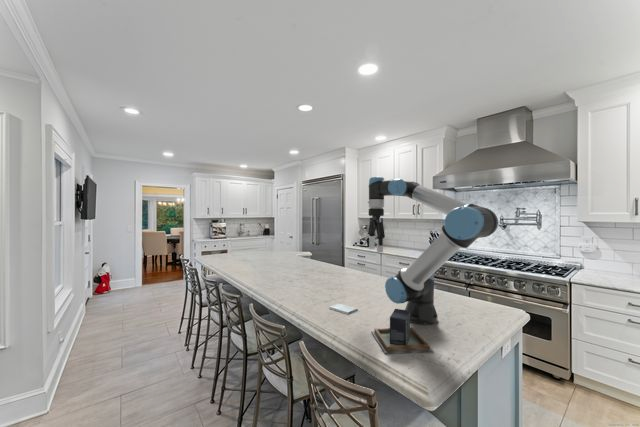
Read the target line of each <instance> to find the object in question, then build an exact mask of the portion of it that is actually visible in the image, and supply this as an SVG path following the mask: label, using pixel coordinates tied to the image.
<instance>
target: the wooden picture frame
mask: <svg viewBox="0 0 640 427" xmlns="http://www.w3.org/2000/svg"><path fill="white" fill-rule="evenodd" d="M370 333H371V334H372V336H373V337H374V338H375V340H376V343H378V346H379V347H380V348H381V350H382V351H383V353H384V354H385V355H399V354H407V355H408V354H428V353H429V354H430V353H431V354H432V353H433V354H434V352H435V351H434V350H433V349H432V348H431V347H430V344H429V343H428V342H427V341H426V340H425V339H424V338H423V337H422V336H420V334H418V332H416V330H415V329H413V328H412V327H410V338H409V341H408V344H407V345H394V344H390V327H387V328H385V327H384V328H383V327H381V328H380V327H379V328H374V330H371V332H370Z"/></svg>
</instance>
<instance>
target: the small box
mask: <svg viewBox="0 0 640 427" xmlns="http://www.w3.org/2000/svg"><path fill="white" fill-rule="evenodd" d="M389 328H390V344H394V345H407V344H408V341H409V338H410V328H411V321H410V311H409V310H405V309H401V308H394V309H393V312H392V313H391V314H390V316H389Z"/></svg>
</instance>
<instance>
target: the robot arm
mask: <svg viewBox="0 0 640 427" xmlns="http://www.w3.org/2000/svg"><path fill="white" fill-rule="evenodd" d="M386 196H387V197H390V196H391V197H392V196H395V197H397V196H398V197H407V198H409V199H412V200H414V201H415V202H418V203H421V204H422V205H425V206H426V207H429V208H432V209H433V210H435V211H438V212H440V213H442V214H444V215H445V218H444V224H443V225H442V226H441V233H440V234H439V235H438V236H437V237H436V238H435V239H434V240H433V241H432V242H431V244H429V245H428V247H427V248H425V250H424V251H423V252H422V253H421V254H420V255H419V256H418V257H417V258H416V259H415V261H414V262H412V264H410V266H409V267H403V268H402V269H401V270H400V271H399V272H398V273H397V274H395V275H394V276H390V277H388V278H387V279H386V281H385V283H384V288H385V293H386V295H387V298H388V299H389V300H390V301H392V303H394V304H405V303H406V306H405V308H404V310H409V311H410V323H413V324H420V325H434V324H436V323H438V320H439V319H438V313H437V309H436V307H435V300H434V299H435V297H434V296H435V293H434V292H435V275H434V274H435V273H436V272H437V271H438V270H439V269H441V267H442V266H443V265H444V264H446V262H448V260H450V258H452V257H453V256H454V255H455V254H456V253H458V251H459V250H460V249H467V248H469V246H471V245H472V244H473V243H474V242H475V241H476V240H477V239H479V238H480V239H481V238H486V237H489V236H491V235H493V234H494V233H495V232H496V230H498V226H499V220H498V216H497V213H495V212H494V211H493V210H492V209H489V208H488V207H483V206H481V205H478V204H474V203H466V202H463V201H460V200H457V199H456V198H454V197H453V198H452V197H450V196H448V195H446V194H443V193H441V192H438V191H435V190H433V189H431V188H428V187H425V186H423V185H421V184H420V183H418V182H415V181H408V180H404V179H402V178H392V179H385V178H384V177H382V176H372V177H370V178H369V180H368V201H367V203H368V216H369V223H368V224H369V225H368V232H367V235H368V237H369V238H368V239H369V240H368V248H369V250H373V249H375V247H376V253H384V239H385V237H386V235H385V228H384V219H383V216H385V209H384V207H385V197H386ZM376 235H377V236H376ZM375 239H376V240H375ZM375 244H376V246H375Z"/></svg>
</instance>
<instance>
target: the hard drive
mask: <svg viewBox="0 0 640 427" xmlns="http://www.w3.org/2000/svg"><path fill="white" fill-rule="evenodd" d="M328 308H329V309H330V310H333V311H335V312H339V313H343V314H345V315H350V314H354V313H355V312H358V308H356V307H352V306H349V305H346V304H344V303H343V304H342V303H336V304H333V305H331V306H329V307H328Z"/></svg>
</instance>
